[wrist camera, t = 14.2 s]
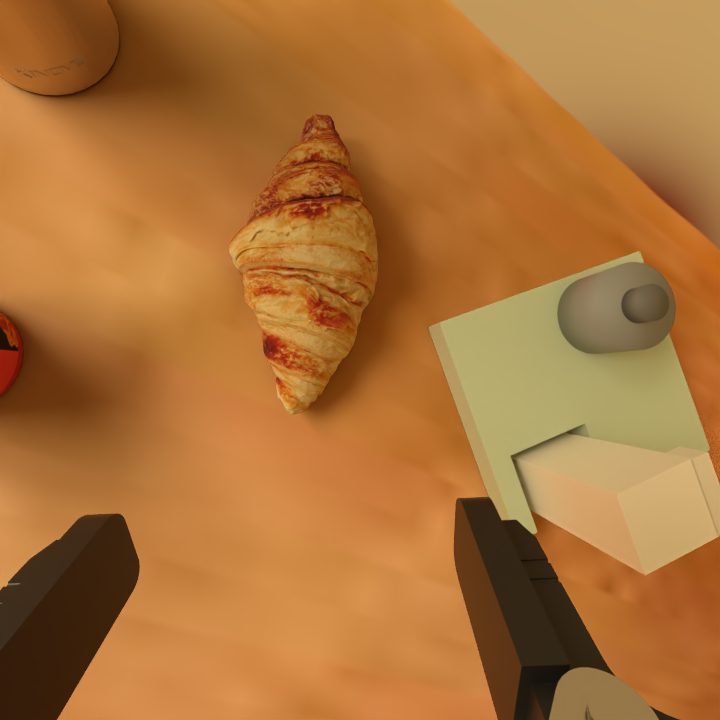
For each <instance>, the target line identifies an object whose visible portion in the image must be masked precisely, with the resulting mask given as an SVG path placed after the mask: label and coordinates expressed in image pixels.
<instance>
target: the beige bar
mask: <svg viewBox="0 0 720 720" xmlns="http://www.w3.org/2000/svg"><path fill="white" fill-rule="evenodd" d="M511 459H512V462H513V465H514V467H515V470H516V473H517V476H518V478H519V481H520V484H521V487H522V490H523V492H524V495H525V498H526V501H527V504H528V506H529V509H530V510H531V511H533V512H534V513H536V514H538V515H540V516H541V517H543V518H545V519H547V520H548V521H550V522H552V523H554V524H556V525H557V526H559V527H561V528H563V529H564V530H566V531H568V532H570V533H571V534H573V535H575V536H577V537H578V538H580V539H582V540H584V541H585V542H587V543H589V544H591V545H592V546H594V547H596V548H598V549H599V550H601V551H603V552H605V553H606V554H608V555H610V556H612V557H613V558H615V559H617V560H619V561H620V562H622V563H624V564H626V565H627V566H629V567H631V568H633V569H634V570H636V571H638V572H640V573H641V574H643V575H647V574H649V573H651V572H653V571H655V570H657V569H659V568H661V567H662V566H664V565H666V564H668V563H670V562H672V561H674V560H676V559H678V558H679V557H681V556H683V555H685V554H687V553H689V552H691V551H693V550H694V549H696V548H698V547H700V546H702V545H704V544H706V543H708V542H710V541H711V540H713V539H715V538H717V537H719V535H720V484H719V481H718V478H717V475H716V473H715V470H714V467H713V464H712V461H711V459H710V456H709V453H708V451H702V450H696V449H691V448H685V447H680V446H679V447H677V448H675V449H673V450H671V451H669V452H666V453H663V452H658V451H653V450H648V449H643V448H638V447H633V446H629V445H624V444H619V443H614V442H609V441H604V440H599V439H594V438H589V437H584V436H579V435H574V434H569V433H562V434H559V435H557V436H555V437H552V438H550V439H548V440H546V441H543V442H541V443H539V444H536V445H534V446H532V447H529V448H527V449H525V450H523V451H520V452H518V453H516V454H513V455H511Z"/></svg>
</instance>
